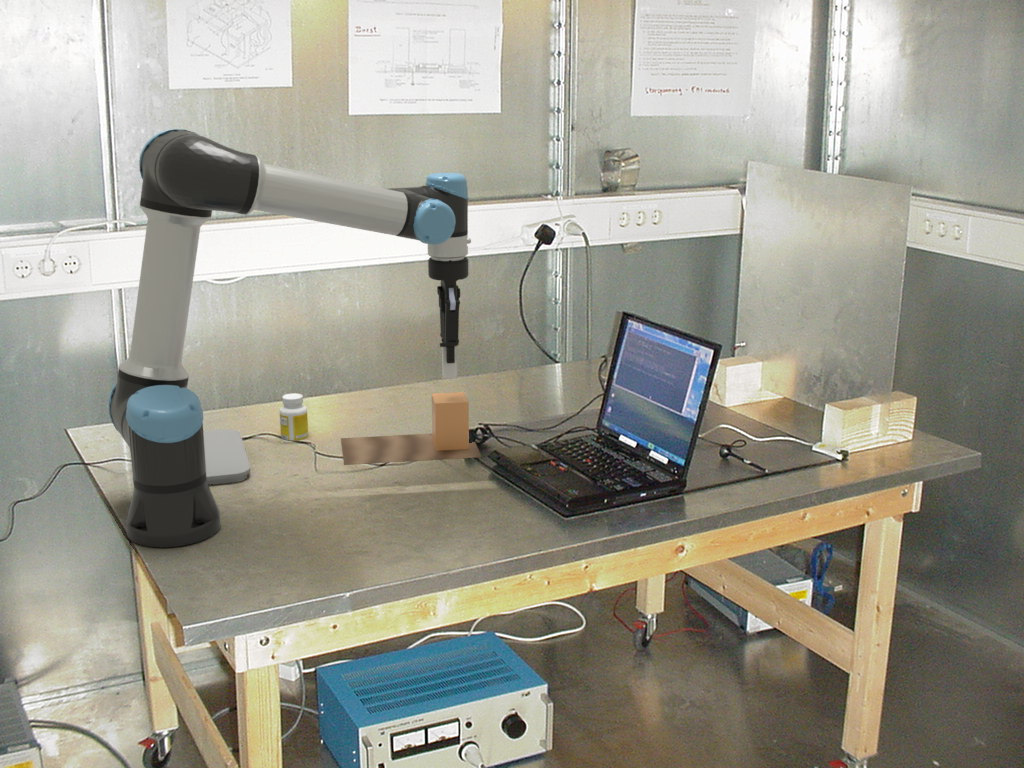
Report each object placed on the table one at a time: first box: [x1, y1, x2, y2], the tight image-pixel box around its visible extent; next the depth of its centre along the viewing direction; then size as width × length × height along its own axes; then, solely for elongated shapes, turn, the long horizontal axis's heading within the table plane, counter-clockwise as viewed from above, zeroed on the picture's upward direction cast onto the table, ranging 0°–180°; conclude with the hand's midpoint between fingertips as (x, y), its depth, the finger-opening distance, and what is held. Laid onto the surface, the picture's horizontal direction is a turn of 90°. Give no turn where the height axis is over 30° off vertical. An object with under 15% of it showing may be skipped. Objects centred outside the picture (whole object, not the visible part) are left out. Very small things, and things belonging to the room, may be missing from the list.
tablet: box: [203, 428, 251, 486], centre depth 235 cm, size 16×26×2 cm, turn 17°
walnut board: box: [340, 432, 482, 466], centre depth 239 cm, size 26×15×2 cm, turn 100°
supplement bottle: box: [279, 392, 309, 441], centre depth 244 cm, size 5×5×10 cm
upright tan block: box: [431, 391, 470, 451], centre depth 240 cm, size 6×6×10 cm
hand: (449, 377), depth 237 cm, fingers closed
